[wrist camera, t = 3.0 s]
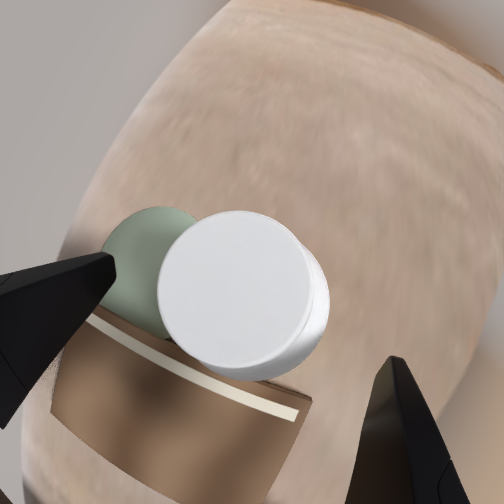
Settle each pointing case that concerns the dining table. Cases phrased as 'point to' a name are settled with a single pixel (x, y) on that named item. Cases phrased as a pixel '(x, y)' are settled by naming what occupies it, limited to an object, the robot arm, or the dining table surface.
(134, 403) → the walnut board
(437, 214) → the dining table surface
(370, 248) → the dining table surface
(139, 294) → the end pad
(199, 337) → the supplement bottle
